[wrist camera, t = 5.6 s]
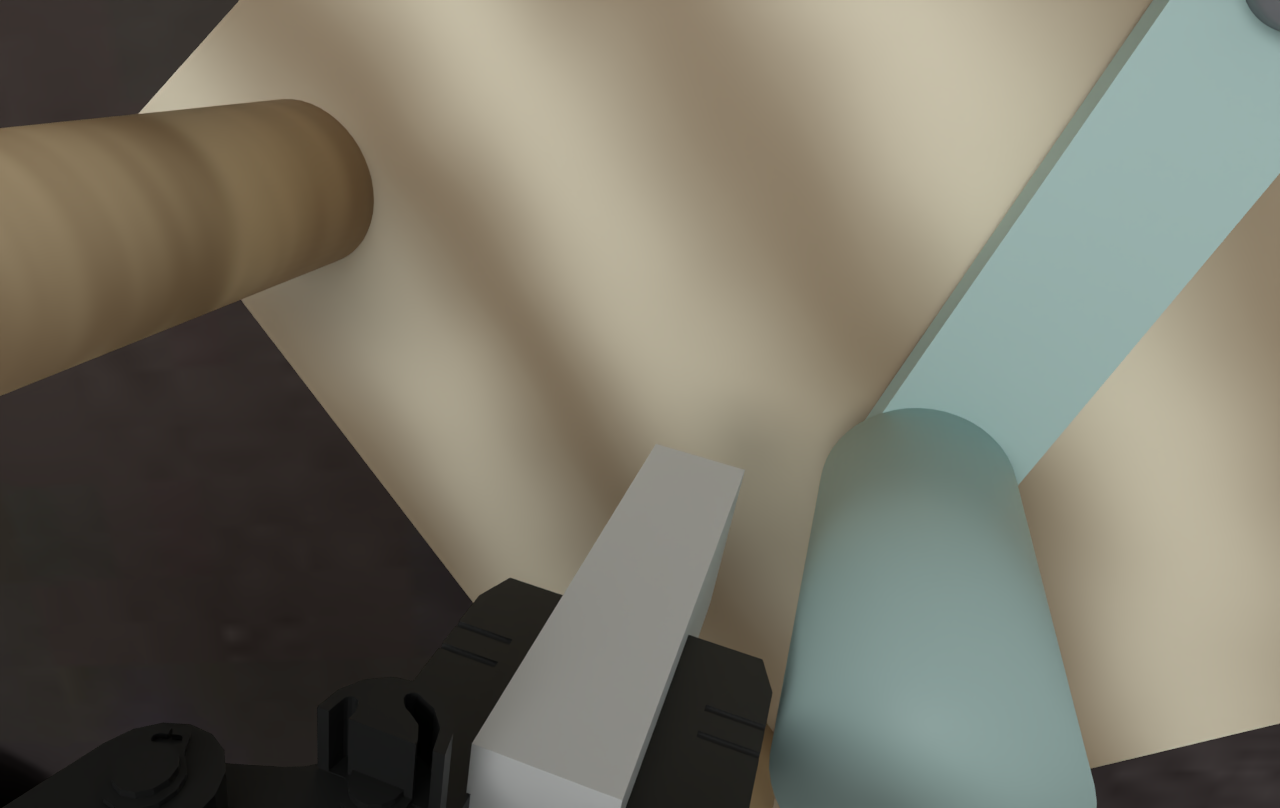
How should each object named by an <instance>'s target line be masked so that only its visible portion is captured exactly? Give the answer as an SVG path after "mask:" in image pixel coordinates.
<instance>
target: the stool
mask: <svg viewBox="0 0 1280 808" xmlns="http://www.w3.org/2000/svg"><path fill="white" fill-rule="evenodd" d="M1152 1H1153V0H239V2H238V3H237V4H236V5H235V6H234V7H233V8H232V9H231V11H230V12H229V13H228V14H227V15H226V16H225V17H224V18H223V20H222V21H221V22H220V23H219V24H218V25H217V26H216V27H215V28H214V30H213V31H212V32H211V33H210V34H209V35H208V36H207V37H206V39H205V40H204V41H203V42H202V43H201V44H200V45H199V46H198V48H197V49H196V50H195V51H194V52H193V53H192V54H191V55H190V57H189V58H188V59H187V60H186V61H185V62H184V63H183V64H182V65H181V67H180V68H179V69H178V70H177V71H176V72H175V73H174V74H173V76H172V77H171V78H170V79H169V80H168V81H167V82H166V83H165V85H164V86H163V87H162V88H161V89H160V90H159V91H158V92H157V93H156V95H155V96H154V97H153V98H152V99H151V100H150V101H149V102H148V104H147V105H146V106H145V107H144V108H143V109H142V110H141V111H140V113H139V114H133V115H124V116H114V117H104V118H95V119H85V120H75V121H66V122H56V123H46V124H37V125H27V126H17V127H8V128H0V396H1V395H4V394H6V393H9V392H11V391H14V390H16V389H19V388H21V387H24V386H26V385H29V384H31V383H34V382H36V381H39V380H41V379H44V378H46V377H49V376H51V375H54V374H56V373H59V372H61V371H64V370H66V369H69V368H71V367H74V366H76V365H79V364H81V363H84V362H86V361H89V360H91V359H94V358H96V357H99V356H101V355H104V354H106V353H109V352H111V351H114V350H116V349H119V348H121V347H124V346H126V345H129V344H131V343H134V342H136V341H139V340H141V339H144V338H146V337H149V336H151V335H154V334H156V333H159V332H161V331H164V330H166V329H169V328H171V327H174V326H176V325H179V324H181V323H184V322H186V321H189V320H191V319H194V318H196V317H199V316H201V315H204V314H206V313H209V312H211V311H214V310H216V309H219V308H221V307H224V306H226V305H229V304H231V303H234V302H236V301H239V300H241V301H242V302H243V303H244V304H245V306H246V307H247V308H248V310H249V311H250V312H251V314H252V315H253V316H254V318H255V319H256V320H257V321H258V323H259V324H260V325H261V327H262V328H263V329H264V331H265V332H266V333H267V334H268V336H269V337H270V338H271V340H272V341H273V342H274V344H275V345H276V346H277V348H278V349H279V350H280V351H281V353H282V354H283V355H284V357H285V358H286V359H287V361H288V362H289V363H290V364H291V366H292V367H293V368H294V370H295V371H296V372H297V374H298V375H299V376H300V377H301V379H302V380H303V381H304V383H305V384H306V385H307V387H308V388H309V389H310V391H311V392H312V393H313V394H314V396H315V397H316V398H317V400H318V401H319V402H320V404H321V405H322V406H323V407H324V409H325V410H326V411H327V413H328V414H329V415H330V417H331V418H332V419H333V421H334V422H335V423H336V424H337V426H338V427H339V428H340V430H341V431H342V432H343V434H344V435H345V436H346V437H347V439H348V440H349V441H350V443H351V444H352V445H353V447H354V448H355V449H356V450H357V452H358V453H359V454H360V456H361V457H362V458H363V460H364V461H365V462H366V464H367V465H368V466H369V467H370V469H371V470H372V471H373V473H374V474H375V475H376V477H377V478H378V479H379V480H380V482H381V483H382V484H383V486H384V487H385V488H386V490H387V491H388V492H389V494H390V495H391V496H392V497H393V499H394V500H395V501H396V503H397V504H398V505H399V507H400V508H401V509H402V510H403V512H404V513H405V514H406V516H407V517H408V518H409V520H410V521H411V522H412V524H413V525H414V526H415V527H416V529H417V530H418V531H419V533H420V534H421V535H422V537H423V538H424V539H425V540H426V542H427V543H428V544H429V546H430V547H431V548H432V550H433V551H434V552H435V553H436V555H437V556H438V557H439V559H440V560H441V561H442V563H443V564H444V565H445V567H446V568H447V569H448V570H449V572H450V573H451V574H452V576H453V577H454V578H455V580H456V581H457V582H458V583H459V585H460V586H461V587H462V589H463V590H464V591H465V593H466V594H467V595H468V597H469V598H470V599H471V600H472V602H473V603H474V601H475V600H476V599H477V597H478V596H479V595H480V594H482V593H484V592H486V591H487V590H489V589H491V588H493V587H494V586H496V585H498V584H500V583H501V582H503V581H505V580H507V579H508V578H513V579H516V580H519V581H522V582H525V583H528V584H531V585H534V586H537V587H540V588H543V589H546V590H549V591H552V592H555V593H558V594H561V595H563V594H564V593H565V591H566V589H567V588H568V586H569V584H570V583H571V581H572V580H573V578H574V576H575V575H576V573H577V571H578V570H579V568H580V567H581V565H582V563H583V562H584V560H585V558H586V557H587V555H588V554H589V552H590V550H591V549H592V547H593V545H594V544H595V542H596V541H597V539H598V537H599V536H600V534H601V532H602V531H603V529H604V527H605V526H606V524H607V523H608V521H609V519H610V518H611V516H612V514H613V513H614V511H615V510H616V508H617V506H618V505H619V503H620V501H621V500H622V498H623V497H624V495H625V493H626V492H627V490H628V488H629V487H630V485H631V483H632V482H633V480H634V479H635V477H636V475H637V474H638V472H639V470H640V469H641V467H642V466H643V464H644V462H645V461H646V459H647V457H648V456H649V454H650V453H651V451H652V449H653V448H654V446H655V444H658V445H662V446H665V447H669V448H672V449H675V450H679V451H682V452H686V453H689V454H692V455H696V456H699V457H703V458H706V459H710V460H713V461H716V462H720V463H723V464H727V465H730V466H733V467H737V468H740V469H744V470H745V472H744V476H743V480H742V483H741V487H740V491H739V495H738V499H737V503H736V506H735V510H734V514H733V518H732V522H731V525H730V529H729V533H728V537H727V541H726V545H725V548H724V552H723V556H722V560H721V564H720V567H719V571H718V575H717V579H716V583H715V587H714V590H713V594H712V598H711V602H710V605H709V608H708V611H707V614H706V617H705V620H704V622H703V625H702V628H701V631H700V634H699V637H698V638H700V639H703V640H706V641H709V642H712V643H715V644H718V645H721V646H724V647H727V648H730V649H733V650H736V651H739V652H742V653H745V654H748V655H751V656H754V657H757V658H760V659H763V662H764V666H765V669H766V672H767V676H768V679H769V682H770V686H771V689H772V692H773V693H772V698H771V703H770V708H769V713H768V718H767V723H766V727H765V731H764V732H765V733H764V738H763V743H762V748H761V752H760V756H759V762H758V767H757V772H756V777H755V782H754V787H753V792H752V797H751V802H750V807H749V808H780V807H779V805H778V802H777V800H776V798H775V795H774V792H773V788H772V785H771V779H770V771H769V761H770V750H771V745H772V740H773V734H774V729H775V723H776V718H777V712H778V707H779V702H780V696H781V691H782V685H783V680H784V675H785V669H786V664H787V658H788V653H789V647H790V642H791V637H792V631H793V626H794V620H795V615H796V609H797V604H798V599H799V593H800V588H801V582H802V577H803V572H804V566H805V561H806V555H807V550H808V544H809V539H810V534H811V528H812V523H813V517H814V512H815V507H816V501H817V496H818V490H819V485H820V479H821V475H822V470H823V467H824V464H825V462H826V459H827V457H828V455H829V453H830V452H831V450H832V448H833V447H834V446H835V444H836V443H837V442H838V441H839V439H840V438H841V437H842V436H844V435H845V434H846V433H847V432H848V431H849V430H850V429H852V428H853V427H854V426H856V425H857V424H859V423H861V422H863V421H864V420H865V419H866V418H867V416H868V415H869V413H870V412H871V410H872V409H873V407H874V406H875V405H876V403H877V402H878V400H879V399H880V397H881V396H882V394H883V393H884V391H885V390H886V388H887V387H888V386H889V384H890V383H891V381H892V380H893V378H894V377H895V375H896V374H897V372H898V371H899V370H900V368H901V367H902V365H903V364H904V362H905V361H906V359H907V358H908V356H909V355H910V354H911V352H912V351H913V349H914V348H915V346H916V345H917V343H918V342H919V340H920V339H921V338H922V336H923V335H924V333H925V332H926V330H927V329H928V327H929V326H930V324H931V323H932V321H933V320H934V319H935V317H936V316H937V314H938V313H939V311H940V310H941V308H942V307H943V305H944V304H945V303H946V301H947V300H948V298H949V297H950V295H951V294H952V292H953V291H954V289H955V288H956V287H957V285H958V284H959V282H960V281H961V279H962V278H963V276H964V275H965V273H966V272H967V271H968V269H969V268H970V266H971V265H972V263H973V262H974V260H975V259H976V257H977V256H978V254H979V253H980V252H981V250H982V249H983V247H984V246H985V244H986V243H987V241H988V240H989V238H990V237H991V236H992V234H993V233H994V231H995V230H996V228H997V227H998V225H999V224H1000V222H1001V221H1002V220H1003V218H1004V217H1005V215H1006V214H1007V212H1008V211H1009V209H1010V208H1011V206H1012V205H1013V204H1014V202H1015V201H1016V199H1017V198H1018V196H1019V195H1020V193H1021V192H1022V190H1023V189H1024V187H1025V186H1026V185H1027V183H1028V182H1029V180H1030V179H1031V177H1032V176H1033V174H1034V173H1035V171H1036V170H1037V169H1038V167H1039V166H1040V164H1041V163H1042V161H1043V160H1044V158H1045V157H1046V155H1047V154H1048V153H1049V151H1050V150H1051V148H1052V147H1053V145H1054V144H1055V142H1056V141H1057V139H1058V138H1059V137H1060V135H1061V134H1062V132H1063V131H1064V129H1065V128H1066V126H1067V125H1068V123H1069V122H1070V121H1071V119H1072V118H1073V116H1074V115H1075V113H1076V112H1077V110H1078V109H1079V107H1080V106H1081V104H1082V103H1083V102H1084V100H1085V99H1086V97H1087V96H1088V94H1089V93H1090V91H1091V90H1092V88H1093V87H1094V86H1095V84H1096V83H1097V81H1098V80H1099V78H1100V77H1101V75H1102V74H1103V72H1104V71H1105V70H1106V68H1107V67H1108V65H1109V64H1110V62H1111V61H1112V59H1113V58H1114V56H1115V55H1116V53H1117V52H1118V51H1119V49H1120V48H1121V46H1122V45H1123V43H1124V42H1125V40H1126V39H1127V37H1128V36H1129V35H1130V33H1131V32H1132V30H1133V29H1134V27H1135V26H1136V24H1137V23H1138V21H1139V20H1140V19H1141V17H1142V16H1143V14H1144V13H1145V11H1146V10H1147V8H1148V7H1149V5H1150V4H1151V3H1152ZM1018 488H1019V492H1020V496H1021V500H1022V504H1023V508H1024V512H1025V516H1026V520H1027V524H1028V527H1029V531H1030V535H1031V539H1032V543H1033V547H1034V551H1035V555H1036V559H1037V563H1038V567H1039V570H1040V574H1041V578H1042V582H1043V586H1044V590H1045V594H1046V598H1047V602H1048V606H1049V610H1050V614H1051V617H1052V621H1053V625H1054V629H1055V633H1056V637H1057V641H1058V645H1059V649H1060V653H1061V657H1062V660H1063V664H1064V668H1065V672H1066V676H1067V680H1068V684H1069V688H1070V692H1071V696H1072V700H1073V703H1074V707H1075V711H1076V715H1077V719H1078V723H1079V727H1080V731H1081V735H1082V739H1083V743H1084V747H1085V750H1086V754H1087V758H1088V762H1089V766H1090V768H1095V767H1099V766H1103V765H1107V764H1111V763H1116V762H1120V761H1124V760H1128V759H1132V758H1137V757H1141V756H1145V755H1149V754H1153V753H1157V752H1162V751H1166V750H1170V749H1174V748H1178V747H1183V746H1187V745H1191V744H1195V743H1199V742H1203V741H1208V740H1212V739H1216V738H1220V737H1224V736H1229V735H1233V734H1237V733H1241V732H1245V731H1250V730H1254V729H1258V728H1262V727H1266V726H1270V725H1275V724H1279V723H1280V174H1279V175H1278V176H1277V177H1276V178H1275V180H1274V181H1273V182H1272V183H1271V184H1270V186H1269V187H1268V188H1267V189H1266V190H1265V192H1264V193H1263V194H1262V195H1261V196H1260V197H1259V199H1258V200H1257V201H1256V202H1255V203H1254V205H1253V206H1252V207H1251V208H1250V209H1249V211H1248V212H1247V213H1246V214H1245V215H1244V217H1243V218H1242V219H1241V220H1240V221H1239V223H1238V224H1237V225H1236V226H1235V227H1234V228H1233V230H1232V231H1231V232H1230V233H1229V234H1228V236H1227V237H1226V238H1225V239H1224V240H1223V242H1222V243H1221V244H1220V245H1219V246H1218V248H1217V249H1216V250H1215V251H1214V252H1213V254H1212V255H1211V256H1210V257H1209V258H1208V260H1207V261H1206V262H1205V263H1204V264H1203V265H1202V267H1201V268H1200V269H1199V270H1198V271H1197V273H1196V274H1195V275H1194V276H1193V277H1192V279H1191V280H1190V281H1189V282H1188V283H1187V285H1186V286H1185V287H1184V288H1183V289H1182V291H1181V292H1180V293H1179V294H1178V295H1177V296H1176V298H1175V299H1174V300H1173V301H1172V302H1171V304H1170V305H1169V306H1168V307H1167V308H1166V310H1165V311H1164V312H1163V313H1162V314H1161V316H1160V317H1159V318H1158V319H1157V320H1156V322H1155V323H1154V324H1153V325H1152V326H1151V328H1150V329H1149V330H1148V331H1147V332H1146V333H1145V335H1144V336H1143V337H1142V338H1141V339H1140V341H1139V342H1138V343H1137V344H1136V345H1135V347H1134V348H1133V349H1132V350H1131V351H1130V353H1129V354H1128V355H1127V356H1126V357H1125V359H1124V360H1123V361H1122V362H1121V363H1120V364H1119V366H1118V367H1117V368H1116V369H1115V370H1114V372H1113V373H1112V374H1111V375H1110V376H1109V378H1108V379H1107V380H1106V381H1105V382H1104V384H1103V385H1102V386H1101V387H1100V388H1099V390H1098V391H1097V392H1096V393H1095V394H1094V396H1093V397H1092V398H1091V399H1090V400H1089V401H1088V403H1087V404H1086V405H1085V406H1084V407H1083V409H1082V410H1081V411H1080V412H1079V413H1078V415H1077V416H1076V417H1075V418H1074V419H1073V421H1072V422H1071V423H1070V424H1069V425H1068V427H1067V428H1066V429H1065V430H1064V431H1063V432H1062V434H1061V435H1060V436H1059V437H1058V438H1057V440H1056V441H1055V442H1054V443H1053V444H1052V446H1051V447H1050V448H1049V449H1048V450H1047V452H1046V453H1045V454H1044V455H1043V456H1042V458H1041V459H1040V460H1039V461H1038V462H1037V464H1036V465H1035V466H1034V467H1033V468H1032V469H1031V471H1030V472H1029V473H1028V474H1027V475H1026V477H1025V478H1024V479H1023V480H1022V481H1021V483H1020V484H1019V485H1018Z"/></svg>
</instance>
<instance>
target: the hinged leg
mask: <svg viewBox="0 0 1280 808" xmlns="http://www.w3.org/2000/svg"><path fill="white" fill-rule="evenodd" d="M1279 174H1280V0H1153V1H1152V3H1151V4H1150V5H1149V7H1148V8H1147V10H1146V11H1145V13H1144V14H1143V16H1142V17H1141V19H1140V20H1139V21H1138V23H1137V24H1136V26H1135V27H1134V29H1133V30H1132V32H1131V33H1130V35H1129V36H1128V37H1127V39H1126V40H1125V42H1124V43H1123V45H1122V46H1121V48H1120V49H1119V51H1118V52H1117V53H1116V55H1115V56H1114V58H1113V59H1112V61H1111V62H1110V64H1109V65H1108V67H1107V68H1106V70H1105V71H1104V72H1103V74H1102V75H1101V77H1100V78H1099V80H1098V81H1097V83H1096V84H1095V86H1094V87H1093V88H1092V90H1091V91H1090V93H1089V94H1088V96H1087V97H1086V99H1085V100H1084V102H1083V103H1082V104H1081V106H1080V107H1079V109H1078V110H1077V112H1076V113H1075V115H1074V116H1073V118H1072V119H1071V121H1070V122H1069V123H1068V125H1067V126H1066V128H1065V129H1064V131H1063V132H1062V134H1061V135H1060V137H1059V138H1058V139H1057V141H1056V142H1055V144H1054V145H1053V147H1052V148H1051V150H1050V151H1049V153H1048V154H1047V155H1046V157H1045V158H1044V160H1043V161H1042V163H1041V164H1040V166H1039V167H1038V169H1037V170H1036V171H1035V173H1034V174H1033V176H1032V177H1031V179H1030V180H1029V182H1028V183H1027V185H1026V186H1025V187H1024V189H1023V190H1022V192H1021V193H1020V195H1019V196H1018V198H1017V199H1016V201H1015V202H1014V204H1013V205H1012V206H1011V208H1010V209H1009V211H1008V212H1007V214H1006V215H1005V217H1004V218H1003V220H1002V221H1001V222H1000V224H999V225H998V227H997V228H996V230H995V231H994V233H993V234H992V236H991V237H990V238H989V240H988V241H987V243H986V244H985V246H984V247H983V249H982V250H981V252H980V253H979V254H978V256H977V257H976V259H975V260H974V262H973V263H972V265H971V266H970V268H969V269H968V271H967V272H966V273H965V275H964V276H963V278H962V279H961V281H960V282H959V284H958V285H957V287H956V288H955V289H954V291H953V292H952V294H951V295H950V297H949V298H948V300H947V301H946V303H945V304H944V305H943V307H942V308H941V310H940V311H939V313H938V314H937V316H936V317H935V319H934V320H933V321H932V323H931V324H930V326H929V327H928V329H927V330H926V332H925V333H924V335H923V336H922V338H921V339H920V340H919V342H918V343H917V345H916V346H915V348H914V349H913V351H912V352H911V354H910V355H909V356H908V358H907V359H906V361H905V362H904V364H903V365H902V367H901V368H900V370H899V371H898V372H897V374H896V375H895V377H894V378H893V380H892V381H891V383H890V384H889V386H888V387H887V388H886V390H885V391H884V393H883V394H882V396H881V397H880V399H879V400H878V402H877V403H876V405H875V406H874V407H873V409H872V410H871V412H870V413H869V415H868V416H867V418H866V419H865V420H864V421H863V422H861V423H859V424H857V425H856V426H854V427H853V428H852V429H850V430H849V431H848V432H847V433H846V434H845V435H844V436H842V437H841V438H840V439H839V441H838V442H837V443H836V444H835V446H834V447H833V448H832V450H831V452H830V453H829V455H828V457H827V459H826V462H825V464H824V467H823V470H822V475H821V479H820V485H819V490H818V496H817V501H816V507H815V512H814V517H813V523H812V528H811V534H810V539H809V544H808V550H807V555H806V561H805V566H804V572H803V577H802V582H801V588H800V593H799V599H798V604H797V609H796V615H795V620H794V626H793V631H792V637H791V642H790V647H789V653H788V658H787V664H786V669H785V675H784V680H783V685H782V691H781V696H780V702H779V707H778V712H777V718H776V723H775V729H774V734H773V740H772V745H771V750H770V761H769V771H770V779H771V785H772V788H773V792H774V795H775V798H776V800H777V802H778V805H779V807H780V808H1096V806H1097V801H1096V793H1095V786H1094V782H1093V778H1092V774H1091V770H1090V766H1089V762H1088V758H1087V754H1086V750H1085V747H1084V743H1083V739H1082V735H1081V731H1080V727H1079V723H1078V719H1077V715H1076V711H1075V707H1074V703H1073V700H1072V696H1071V692H1070V688H1069V684H1068V680H1067V676H1066V672H1065V668H1064V664H1063V660H1062V657H1061V653H1060V649H1059V645H1058V641H1057V637H1056V633H1055V629H1054V625H1053V621H1052V617H1051V614H1050V610H1049V606H1048V602H1047V598H1046V594H1045V590H1044V586H1043V582H1042V578H1041V574H1040V570H1039V567H1038V563H1037V559H1036V555H1035V551H1034V547H1033V543H1032V539H1031V535H1030V531H1029V527H1028V524H1027V520H1026V516H1025V512H1024V508H1023V504H1022V500H1021V496H1020V492H1019V488H1018V485H1019V484H1020V483H1021V481H1022V480H1023V479H1024V478H1025V477H1026V475H1027V474H1028V473H1029V472H1030V471H1031V469H1032V468H1033V467H1034V466H1035V465H1036V464H1037V462H1038V461H1039V460H1040V459H1041V458H1042V456H1043V455H1044V454H1045V453H1046V452H1047V450H1048V449H1049V448H1050V447H1051V446H1052V444H1053V443H1054V442H1055V441H1056V440H1057V438H1058V437H1059V436H1060V435H1061V434H1062V432H1063V431H1064V430H1065V429H1066V428H1067V427H1068V425H1069V424H1070V423H1071V422H1072V421H1073V419H1074V418H1075V417H1076V416H1077V415H1078V413H1079V412H1080V411H1081V410H1082V409H1083V407H1084V406H1085V405H1086V404H1087V403H1088V401H1089V400H1090V399H1091V398H1092V397H1093V396H1094V394H1095V393H1096V392H1097V391H1098V390H1099V388H1100V387H1101V386H1102V385H1103V384H1104V382H1105V381H1106V380H1107V379H1108V378H1109V376H1110V375H1111V374H1112V373H1113V372H1114V370H1115V369H1116V368H1117V367H1118V366H1119V364H1120V363H1121V362H1122V361H1123V360H1124V359H1125V357H1126V356H1127V355H1128V354H1129V353H1130V351H1131V350H1132V349H1133V348H1134V347H1135V345H1136V344H1137V343H1138V342H1139V341H1140V339H1141V338H1142V337H1143V336H1144V335H1145V333H1146V332H1147V331H1148V330H1149V329H1150V328H1151V326H1152V325H1153V324H1154V323H1155V322H1156V320H1157V319H1158V318H1159V317H1160V316H1161V314H1162V313H1163V312H1164V311H1165V310H1166V308H1167V307H1168V306H1169V305H1170V304H1171V302H1172V301H1173V300H1174V299H1175V298H1176V296H1177V295H1178V294H1179V293H1180V292H1181V291H1182V289H1183V288H1184V287H1185V286H1186V285H1187V283H1188V282H1189V281H1190V280H1191V279H1192V277H1193V276H1194V275H1195V274H1196V273H1197V271H1198V270H1199V269H1200V268H1201V267H1202V265H1203V264H1204V263H1205V262H1206V261H1207V260H1208V258H1209V257H1210V256H1211V255H1212V254H1213V252H1214V251H1215V250H1216V249H1217V248H1218V246H1219V245H1220V244H1221V243H1222V242H1223V240H1224V239H1225V238H1226V237H1227V236H1228V234H1229V233H1230V232H1231V231H1232V230H1233V228H1234V227H1235V226H1236V225H1237V224H1238V223H1239V221H1240V220H1241V219H1242V218H1243V217H1244V215H1245V214H1246V213H1247V212H1248V211H1249V209H1250V208H1251V207H1252V206H1253V205H1254V203H1255V202H1256V201H1257V200H1258V199H1259V197H1260V196H1261V195H1262V194H1263V193H1264V192H1265V190H1266V189H1267V188H1268V187H1269V186H1270V184H1271V183H1272V182H1273V181H1274V180H1275V178H1276V177H1277V176H1278V175H1279Z"/></svg>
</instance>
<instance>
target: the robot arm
mask: <svg viewBox="0 0 1280 808" xmlns="http://www.w3.org/2000/svg"><path fill="white" fill-rule="evenodd" d="M744 472H745V470H744V469H740V468H737V467H733V466H730V465H727V464H723V463H720V462H716V461H713V460H710V459H706V458H703V457H699V456H696V455H692V454H689V453H686V452H682V451H679V450H675V449H672V448H669V447H665V446H662V445H658V444H655V446H654V448H653V449H652V451H651V453H650V454H649V456H648V457H647V459H646V461H645V462H644V464H643V466H642V467H641V469H640V470H639V472H638V474H637V475H636V477H635V479H634V480H633V482H632V483H631V485H630V487H629V488H628V490H627V492H626V493H625V495H624V497H623V498H622V500H621V501H620V503H619V505H618V506H617V508H616V510H615V511H614V513H613V514H612V516H611V518H610V519H609V521H608V523H607V524H606V526H605V527H604V529H603V531H602V532H601V534H600V536H599V537H598V539H597V541H596V542H595V544H594V545H593V547H592V549H591V550H590V552H589V554H588V555H587V557H586V558H585V560H584V562H583V563H582V565H581V567H580V568H579V570H578V571H577V573H576V575H575V576H574V578H573V580H572V581H571V583H570V584H569V586H568V588H567V589H566V591H565V593H564V594H563V595H561V594H558V593H555V592H552V591H549V590H546V589H543V588H540V587H537V586H534V585H531V584H528V583H525V582H522V581H519V580H516V579H513V578H508V579H507V580H505V581H503V582H501V583H500V584H498V585H496V586H494V587H493V588H491V589H489V590H487V591H486V592H484V593H482V594H480V595H479V596H478V597H477V599H476V600H475V601H474V603H473V604H472V605H471V607H470V608H469V609H468V610H467V612H466V613H465V614H464V616H463V617H462V618H461V620H460V621H459V624H458V626H455V628H454V629H453V630H452V631H451V633H450V634H449V635H448V637H447V638H446V639H445V641H444V642H443V645H442V647H441V649H440V648H438V650H437V651H436V652H435V654H434V655H433V656H432V658H431V659H430V660H429V662H428V663H427V664H426V665H425V667H424V668H423V669H422V671H421V672H420V673H419V675H418V676H417V677H416V679H415V680H414V681H409V680H404V679H399V678H394V677H387V678H376V679H366V680H362V681H360V682H357V683H354V684H352V685H349V686H347V687H344V688H342V689H339V690H337V691H336V692H335V693H334V694H333V695H331V696H330V697H329V698H328V699H326V700H325V701H324V702H323V703H321V704H320V705H319V706H318V707H317V722H318V764H315V765H310V766H303V767H274V766H258V765H242V764H226V763H225V755H224V749H223V748H222V747H221V745H220V744H219V743H218V742H217V740H216V739H215V738H214V736H213V735H212V734H211V733H208V732H206V731H204V730H202V729H200V728H197V727H195V726H193V725H190V724H175V723H160V724H155V725H151V726H146V727H141V728H136V729H133V730H131V731H128V732H126V733H124V734H122V735H120V736H118V737H116V738H114V739H112V740H110V741H107V742H105V743H104V744H102V745H100V746H99V747H97V748H96V749H94V750H92V751H91V752H89V753H88V754H86V755H85V756H83V757H81V758H80V759H78V760H77V761H75V762H74V763H72V764H70V765H69V766H67V767H66V768H64V769H62V770H61V771H59V772H58V773H56V774H55V775H53V776H51V777H50V778H48V779H47V780H45V781H43V782H42V783H40V784H39V785H37V786H36V787H34V788H32V789H31V790H29V791H28V792H26V793H25V794H23V795H21V796H20V797H18V798H17V799H15V800H13V801H12V802H10V803H9V804H7V805H6V806H4V807H2V808H749V807H750V802H751V797H752V792H753V787H754V782H755V777H756V772H757V767H758V762H759V756H760V752H761V748H762V743H763V738H764V733H765V732H764V731H765V727H766V723H767V718H768V713H769V708H770V703H771V698H772V693H773V692H772V689H771V686H770V682H769V679H768V676H767V672H766V669H765V666H764V662H763V659H760V658H757V657H754V656H751V655H748V654H745V653H742V652H739V651H736V650H733V649H730V648H727V647H724V646H721V645H718V644H715V643H712V642H709V641H706V640H703V639H700V638H698V637H699V634H700V631H701V628H702V625H703V622H704V620H705V617H706V614H707V611H708V608H709V605H710V602H711V598H712V594H713V590H714V587H715V583H716V579H717V575H718V571H719V567H720V564H721V560H722V556H723V552H724V548H725V545H726V541H727V537H728V533H729V529H730V525H731V522H732V518H733V514H734V510H735V506H736V503H737V499H738V495H739V491H740V487H741V483H742V480H743V476H744Z"/></svg>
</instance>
